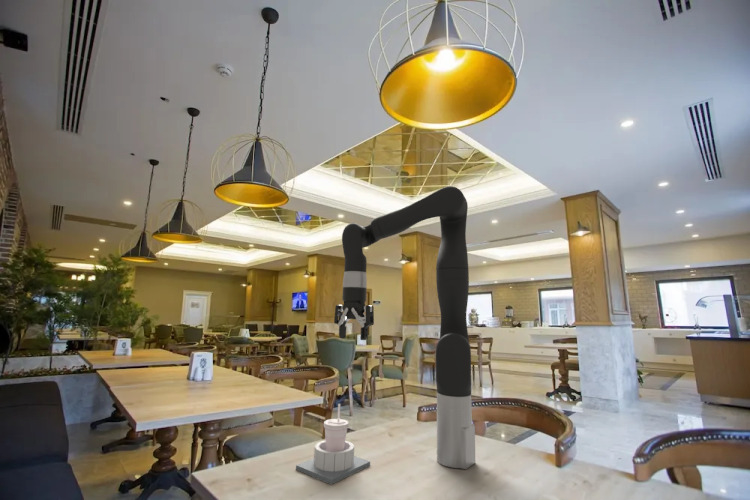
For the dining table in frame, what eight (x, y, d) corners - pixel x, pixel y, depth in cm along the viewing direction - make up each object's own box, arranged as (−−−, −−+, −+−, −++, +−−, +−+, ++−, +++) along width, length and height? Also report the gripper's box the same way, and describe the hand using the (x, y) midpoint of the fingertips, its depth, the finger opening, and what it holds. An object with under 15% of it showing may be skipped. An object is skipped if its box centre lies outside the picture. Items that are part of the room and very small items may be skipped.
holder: (370, 465, 94) (370, 444, 95) (331, 484, 83) (332, 460, 84) (335, 453, 101) (336, 434, 102) (295, 469, 90) (297, 447, 91)
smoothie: (346, 469, 89) (348, 407, 91) (319, 468, 89) (322, 406, 91) (348, 458, 95) (350, 401, 98) (323, 457, 95) (326, 400, 98)
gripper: (379, 287, 116) (378, 340, 113) (345, 287, 124) (343, 337, 122) (364, 285, 110) (363, 341, 107) (330, 286, 119) (327, 338, 116)
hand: (352, 339), depth 115 cm, fingers open, 8 cm apart
